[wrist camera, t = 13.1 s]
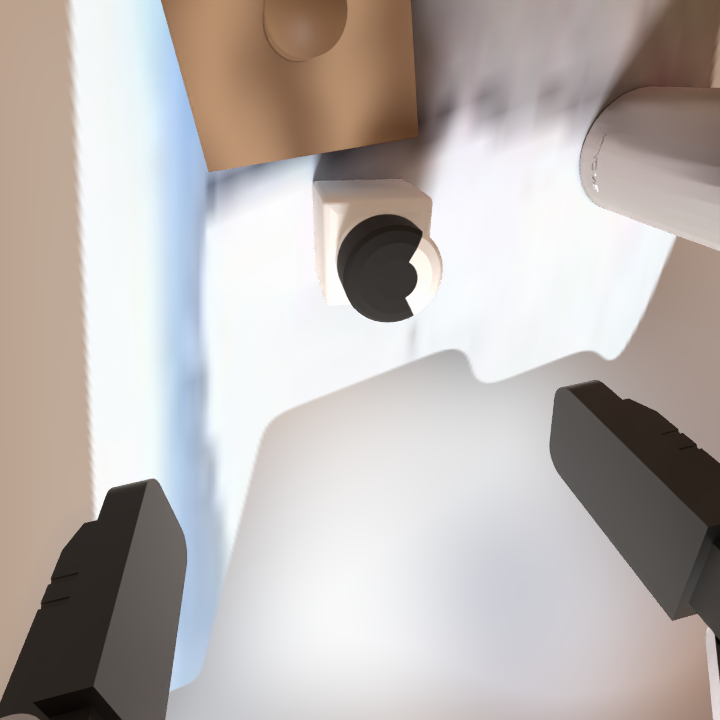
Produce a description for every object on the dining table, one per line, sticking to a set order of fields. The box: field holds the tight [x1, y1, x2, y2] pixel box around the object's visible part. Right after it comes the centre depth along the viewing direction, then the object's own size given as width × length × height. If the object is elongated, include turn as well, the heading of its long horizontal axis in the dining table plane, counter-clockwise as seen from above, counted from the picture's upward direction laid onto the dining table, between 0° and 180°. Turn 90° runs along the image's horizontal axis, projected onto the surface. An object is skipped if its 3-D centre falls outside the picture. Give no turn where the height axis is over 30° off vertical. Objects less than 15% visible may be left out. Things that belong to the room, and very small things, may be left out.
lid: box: [161, 0, 419, 172], centre depth 23 cm, size 13×13×8 cm
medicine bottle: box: [312, 179, 442, 322], centre depth 33 cm, size 7×7×12 cm
